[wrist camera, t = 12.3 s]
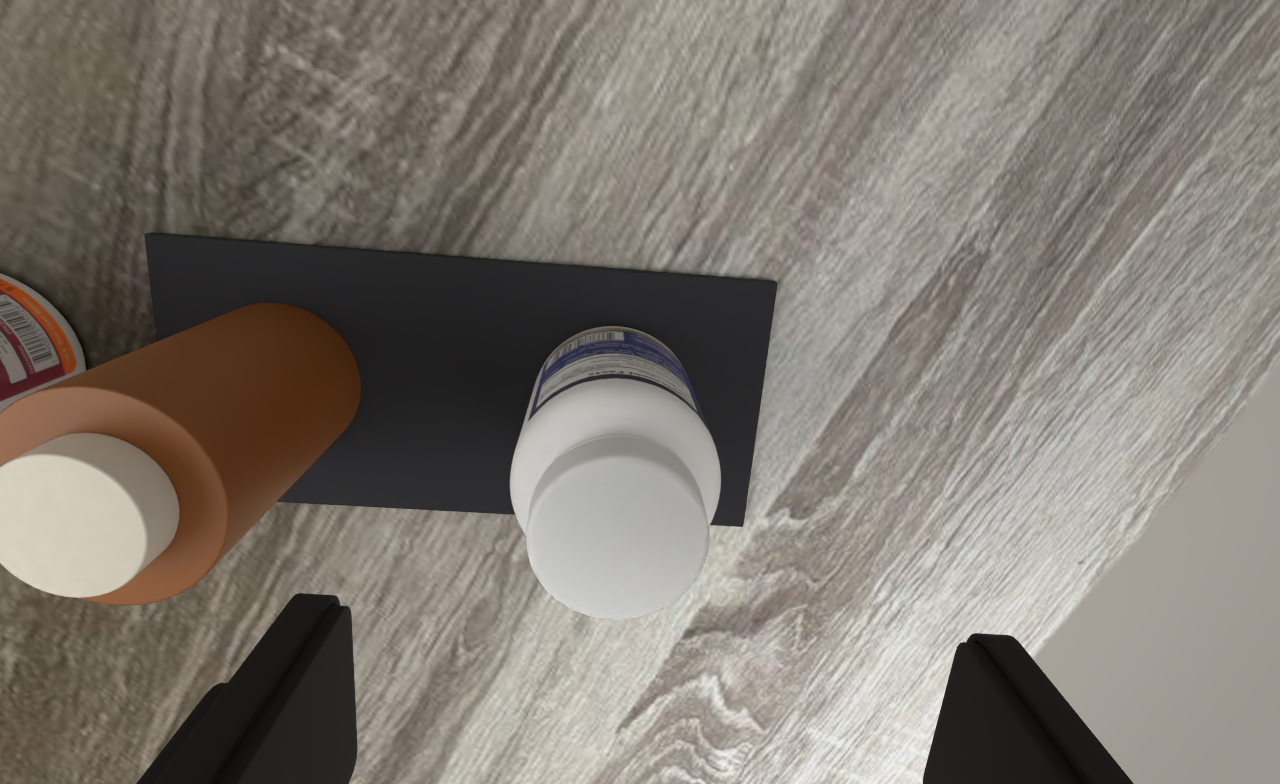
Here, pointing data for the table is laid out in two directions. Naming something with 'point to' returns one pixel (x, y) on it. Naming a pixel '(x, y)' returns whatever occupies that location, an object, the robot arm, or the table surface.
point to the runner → (470, 354)
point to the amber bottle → (168, 453)
